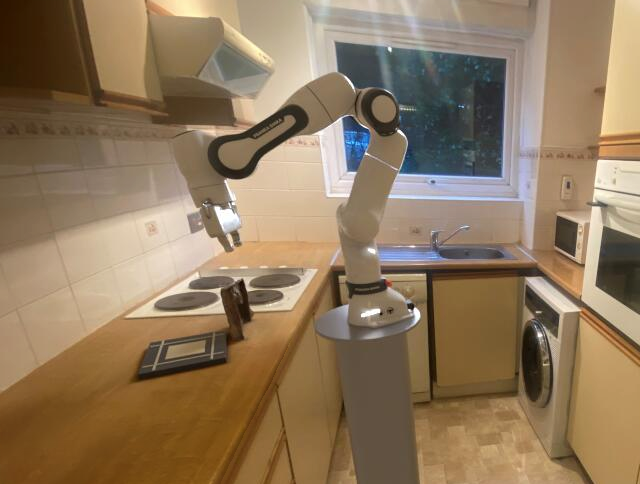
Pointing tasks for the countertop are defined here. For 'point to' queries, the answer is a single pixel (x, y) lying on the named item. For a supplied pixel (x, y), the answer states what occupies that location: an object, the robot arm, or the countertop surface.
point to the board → (184, 354)
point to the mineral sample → (236, 307)
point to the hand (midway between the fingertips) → (234, 249)
